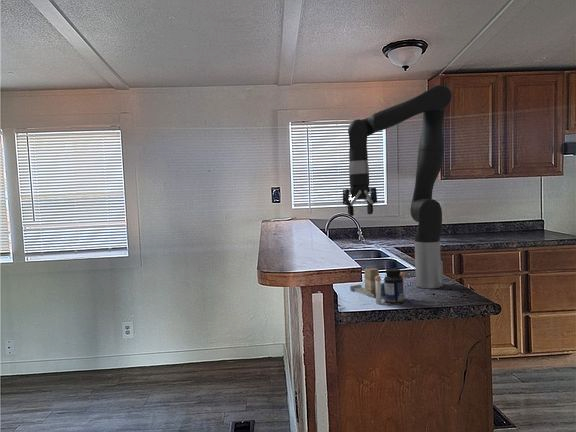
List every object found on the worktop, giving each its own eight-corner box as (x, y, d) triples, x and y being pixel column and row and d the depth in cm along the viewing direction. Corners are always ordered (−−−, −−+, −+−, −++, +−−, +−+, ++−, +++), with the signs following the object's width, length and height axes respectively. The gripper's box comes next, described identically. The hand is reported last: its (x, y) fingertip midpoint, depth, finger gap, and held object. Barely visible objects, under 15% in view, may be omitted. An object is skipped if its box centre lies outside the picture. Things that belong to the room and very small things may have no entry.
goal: (403, 298, 155) (402, 271, 154) (407, 299, 153) (406, 272, 152) (374, 303, 150) (373, 275, 149) (378, 304, 148) (377, 276, 147)
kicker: (377, 288, 164) (376, 267, 164) (397, 294, 154) (396, 271, 154) (359, 291, 161) (358, 269, 161) (378, 297, 151) (377, 274, 150)
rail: (360, 289, 172) (359, 284, 172) (382, 296, 159) (382, 291, 159) (350, 290, 170) (350, 286, 170) (372, 297, 157) (372, 292, 157)
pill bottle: (400, 299, 153) (399, 267, 153) (406, 304, 147) (405, 270, 146) (382, 300, 153) (381, 268, 152) (387, 305, 147) (386, 271, 146)
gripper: (368, 173, 179) (370, 213, 180) (338, 174, 173) (339, 216, 174) (380, 172, 173) (381, 214, 173) (348, 172, 167) (350, 216, 167)
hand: (360, 215), depth 174 cm, fingers open, 8 cm apart
